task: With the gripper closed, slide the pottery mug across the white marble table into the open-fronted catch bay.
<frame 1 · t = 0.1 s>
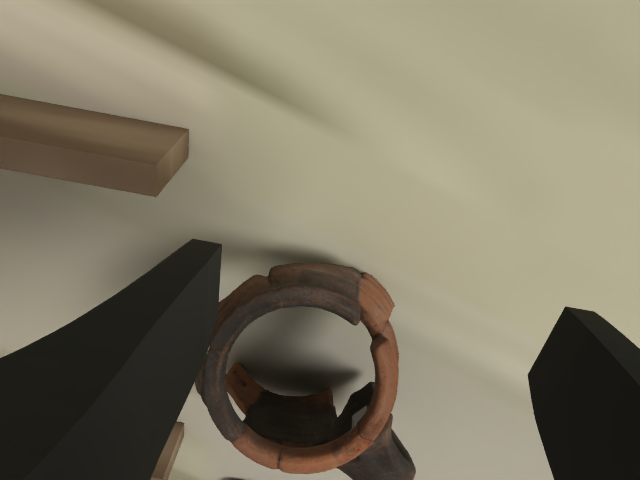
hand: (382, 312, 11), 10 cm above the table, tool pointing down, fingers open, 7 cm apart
catch bay: (26, 285, 25), on the table
pottery mug: (322, 336, 25), on the table
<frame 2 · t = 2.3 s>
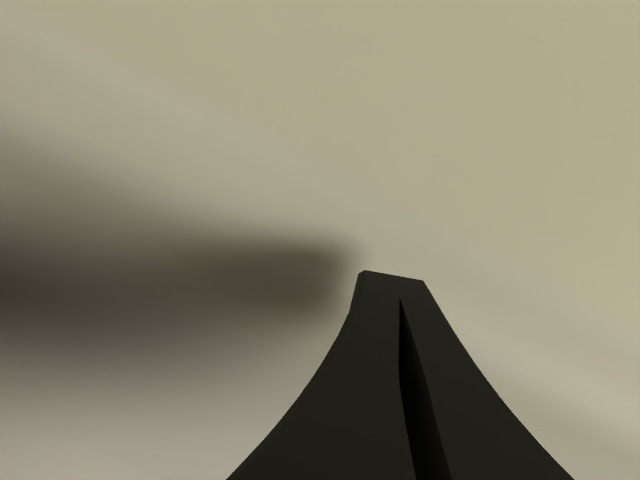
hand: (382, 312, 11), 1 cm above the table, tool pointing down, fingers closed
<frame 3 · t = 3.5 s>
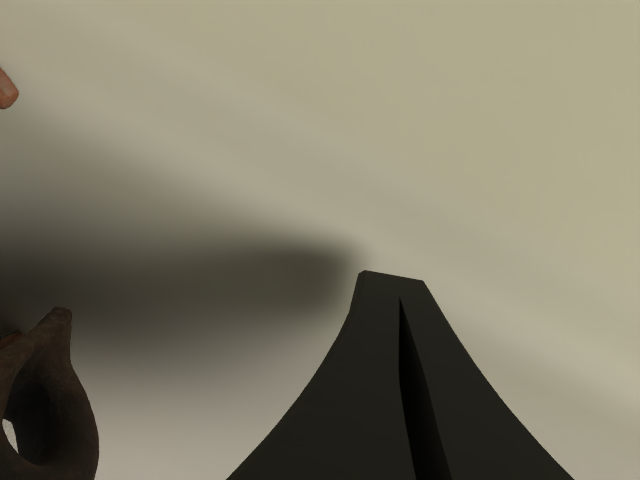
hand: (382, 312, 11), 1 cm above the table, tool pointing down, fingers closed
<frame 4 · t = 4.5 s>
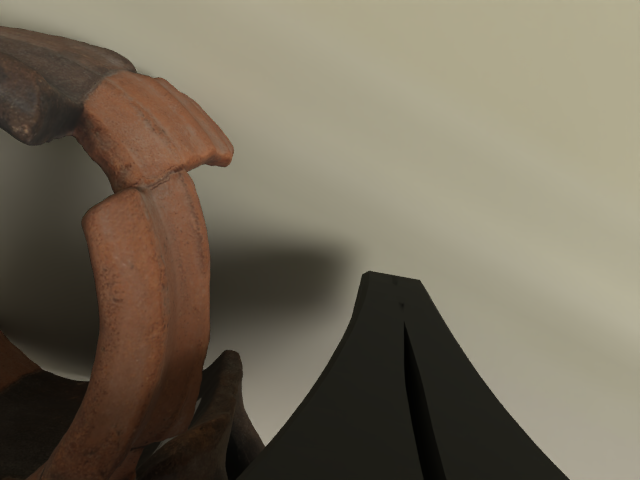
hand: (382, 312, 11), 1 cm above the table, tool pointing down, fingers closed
pottery mug: (132, 260, 12), on the table, touching gripper
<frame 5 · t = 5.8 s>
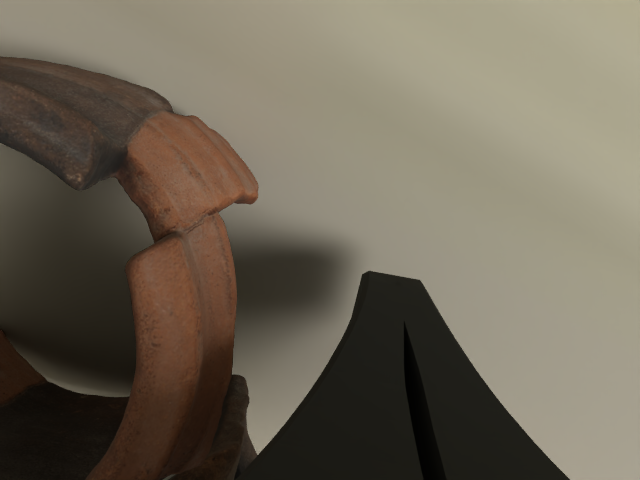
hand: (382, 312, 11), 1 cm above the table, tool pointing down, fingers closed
pottery mug: (145, 280, 13), on the table, touching gripper
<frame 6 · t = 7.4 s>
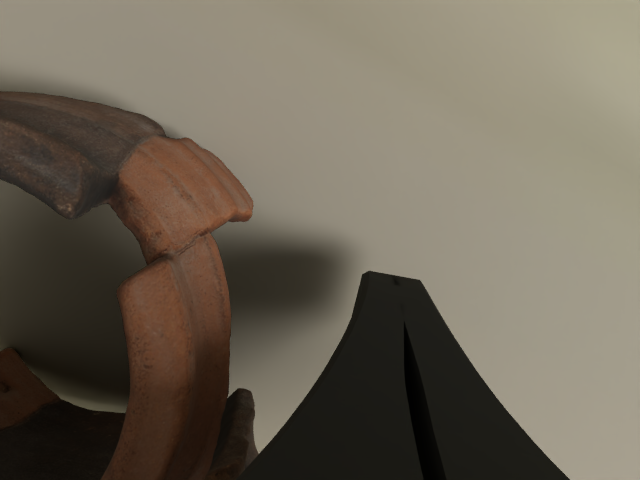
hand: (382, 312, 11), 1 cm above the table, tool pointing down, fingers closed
pottery mug: (151, 298, 13), on the table, touching gripper
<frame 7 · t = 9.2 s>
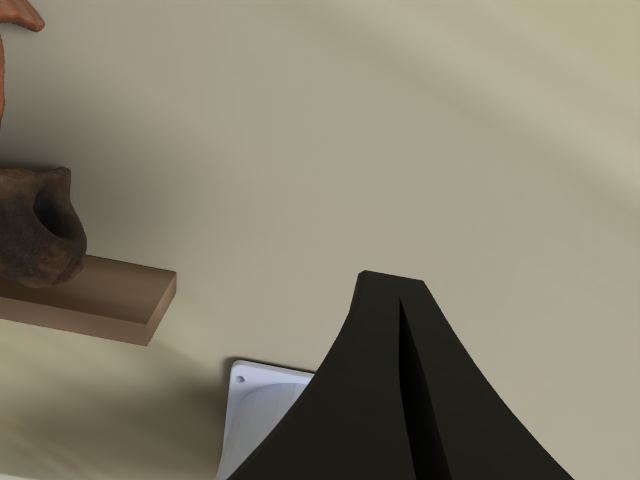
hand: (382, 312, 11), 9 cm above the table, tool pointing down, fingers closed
pottery mug: (4, 110, 19), on the table
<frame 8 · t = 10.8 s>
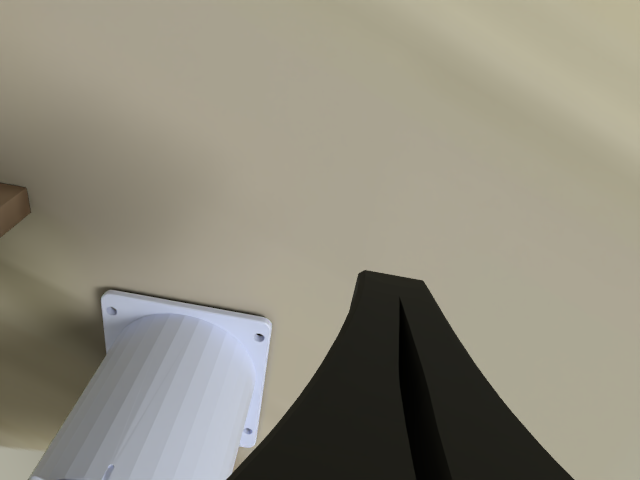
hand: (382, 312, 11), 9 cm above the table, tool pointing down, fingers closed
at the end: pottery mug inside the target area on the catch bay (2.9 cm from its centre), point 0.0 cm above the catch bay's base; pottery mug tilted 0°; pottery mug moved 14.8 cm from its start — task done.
